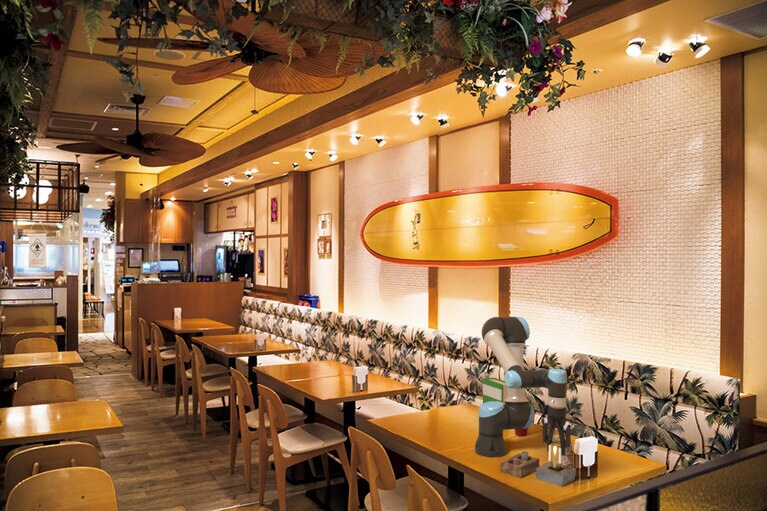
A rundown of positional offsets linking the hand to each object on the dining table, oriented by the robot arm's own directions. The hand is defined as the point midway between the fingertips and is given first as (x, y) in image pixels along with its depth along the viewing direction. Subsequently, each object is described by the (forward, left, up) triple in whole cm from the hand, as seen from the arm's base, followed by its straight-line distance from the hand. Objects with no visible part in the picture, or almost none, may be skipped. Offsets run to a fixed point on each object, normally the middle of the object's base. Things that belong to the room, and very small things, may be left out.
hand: (556, 461), depth 252 cm
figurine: (-3, +17, -8) cm, 19 cm away
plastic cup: (-43, +45, -8) cm, 63 cm away
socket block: (0, 0, -8) cm, 8 cm away
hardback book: (-64, +55, -8) cm, 85 cm away
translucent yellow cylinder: (0, 0, -7) cm, 7 cm away
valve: (-23, +45, -8) cm, 51 cm away
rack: (-16, -2, -8) cm, 18 cm away
